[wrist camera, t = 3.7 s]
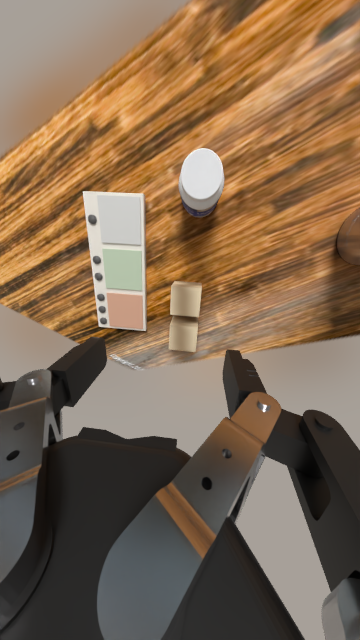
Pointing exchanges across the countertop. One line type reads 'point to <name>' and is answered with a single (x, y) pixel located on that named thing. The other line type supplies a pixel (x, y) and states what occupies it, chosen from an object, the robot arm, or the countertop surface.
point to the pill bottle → (201, 182)
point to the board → (118, 257)
